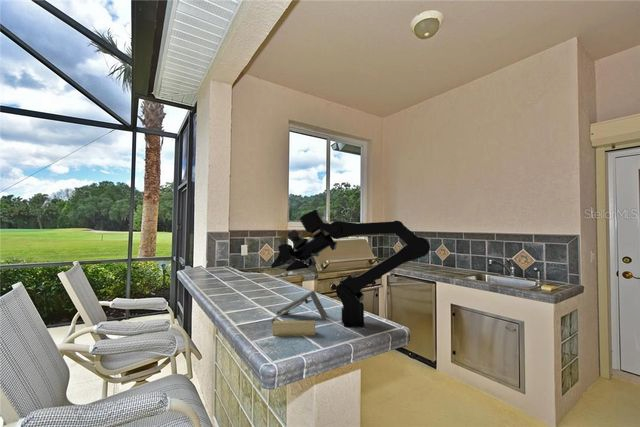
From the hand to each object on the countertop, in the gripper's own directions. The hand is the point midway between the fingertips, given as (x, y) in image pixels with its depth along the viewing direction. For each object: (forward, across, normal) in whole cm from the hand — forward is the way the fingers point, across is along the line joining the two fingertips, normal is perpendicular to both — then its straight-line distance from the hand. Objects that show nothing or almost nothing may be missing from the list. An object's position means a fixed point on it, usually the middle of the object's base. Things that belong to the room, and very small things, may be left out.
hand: (279, 268), depth 98 cm
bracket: (+2, -5, +18) cm, 19 cm away
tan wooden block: (-1, +7, +23) cm, 24 cm away
